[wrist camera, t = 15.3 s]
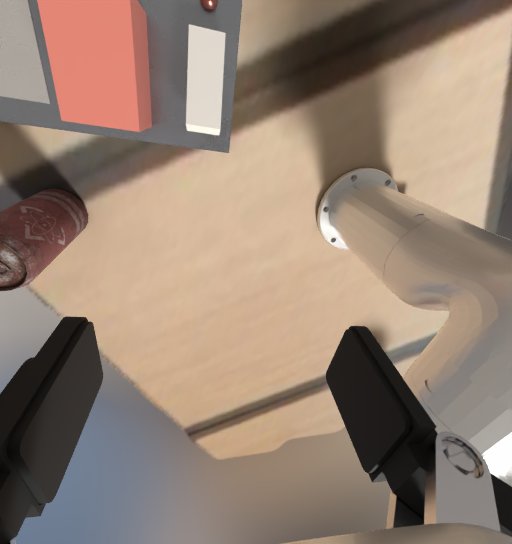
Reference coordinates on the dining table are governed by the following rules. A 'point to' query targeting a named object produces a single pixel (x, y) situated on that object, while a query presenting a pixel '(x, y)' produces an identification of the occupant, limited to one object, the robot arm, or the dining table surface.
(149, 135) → the panel
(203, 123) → the block
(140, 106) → the cap
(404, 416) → the robot arm
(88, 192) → the dining table surface
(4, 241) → the can
